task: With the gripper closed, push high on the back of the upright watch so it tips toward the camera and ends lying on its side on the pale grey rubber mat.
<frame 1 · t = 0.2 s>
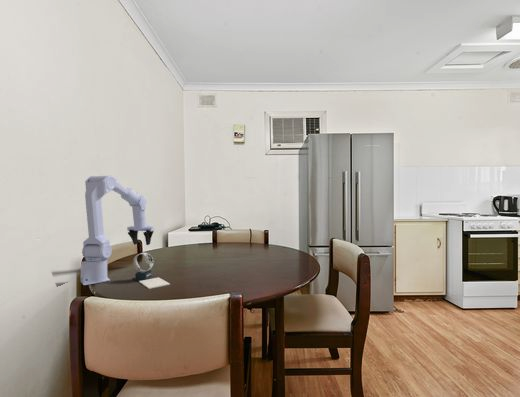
hand: (142, 244, 144), 11 cm above the table, tool pointing down, fingers open, 7 cm apart
watch: (143, 279, 117), on the table
mat: (154, 283, 111), on the table
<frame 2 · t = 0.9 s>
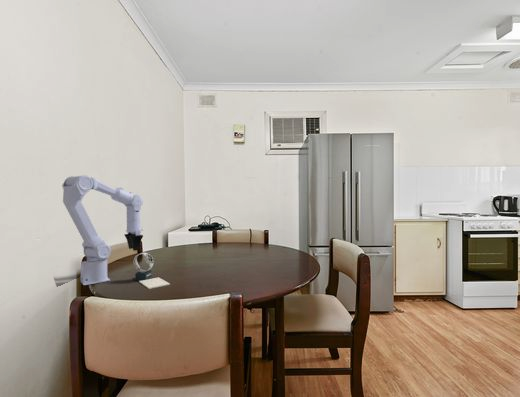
hand: (133, 249, 130), 10 cm above the table, tool pointing down, fingers open, 6 cm apart
nothing on the table moved.
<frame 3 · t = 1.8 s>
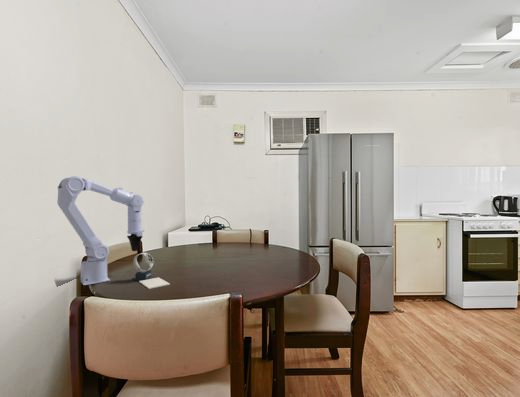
hand: (134, 250, 127), 10 cm above the table, tool pointing down, fingers closed
nothing on the table moved.
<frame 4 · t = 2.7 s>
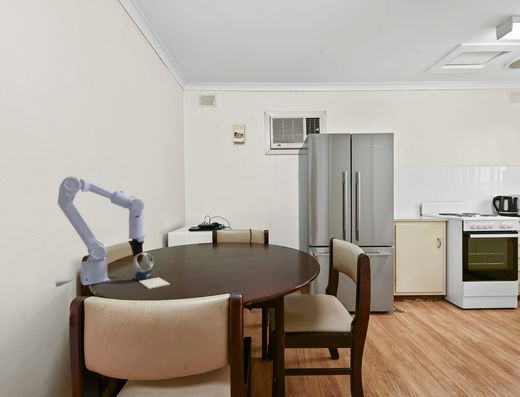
hand: (136, 256, 124), 8 cm above the table, tool pointing down, fingers closed
nothing on the table moved.
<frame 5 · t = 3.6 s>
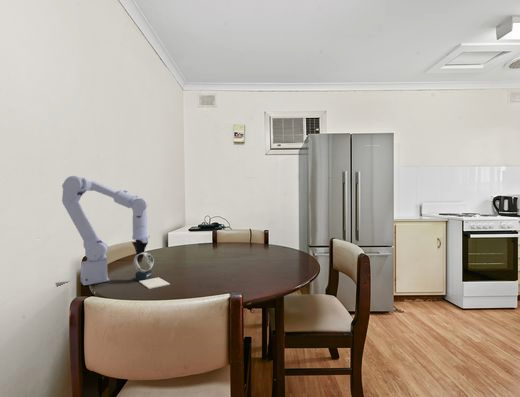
hand: (140, 257, 120), 8 cm above the table, tool pointing down, fingers closed
watch: (143, 279, 117), on the table, touching gripper
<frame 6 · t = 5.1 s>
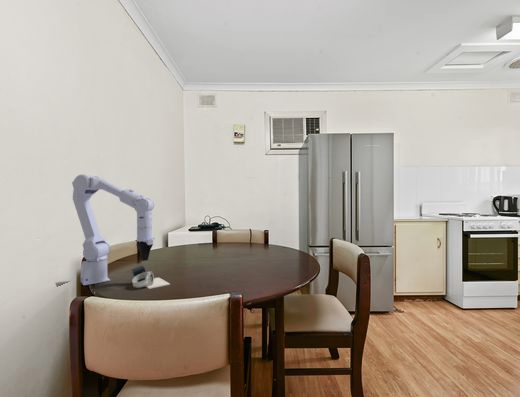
hand: (144, 260, 115), 8 cm above the table, tool pointing down, fingers closed
watch: (138, 273, 114), point 3 cm above the table, touching mat
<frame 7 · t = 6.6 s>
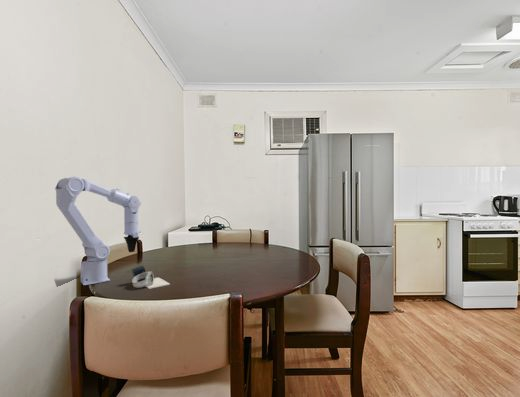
hand: (131, 251, 127), 10 cm above the table, tool pointing down, fingers closed
nothing on the table moved.
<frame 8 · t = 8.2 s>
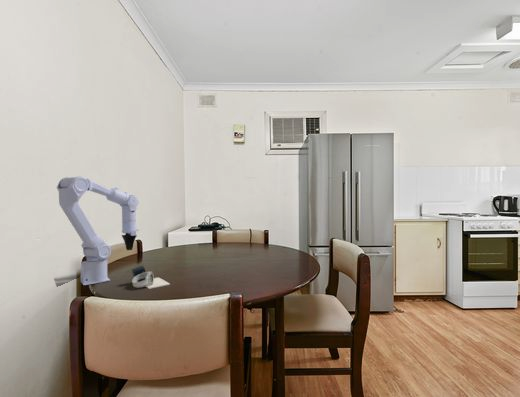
hand: (129, 249, 129), 10 cm above the table, tool pointing down, fingers closed
nothing on the table moved.
at the end: watch tilted 96°; watch inside the target area (3.5 cm from its centre), point 3.3 cm above the table; watch touching mat, table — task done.
